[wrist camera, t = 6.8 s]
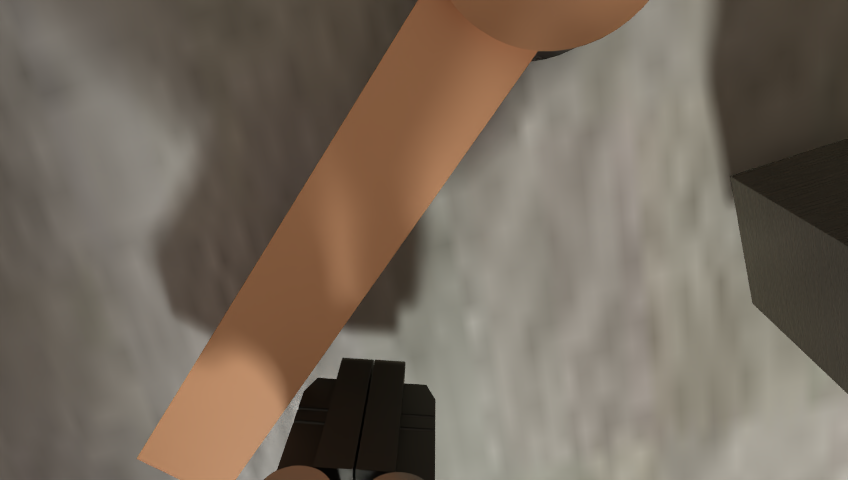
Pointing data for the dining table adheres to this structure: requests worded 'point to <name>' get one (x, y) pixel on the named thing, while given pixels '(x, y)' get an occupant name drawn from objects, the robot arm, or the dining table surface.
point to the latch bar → (359, 215)
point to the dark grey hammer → (800, 250)
